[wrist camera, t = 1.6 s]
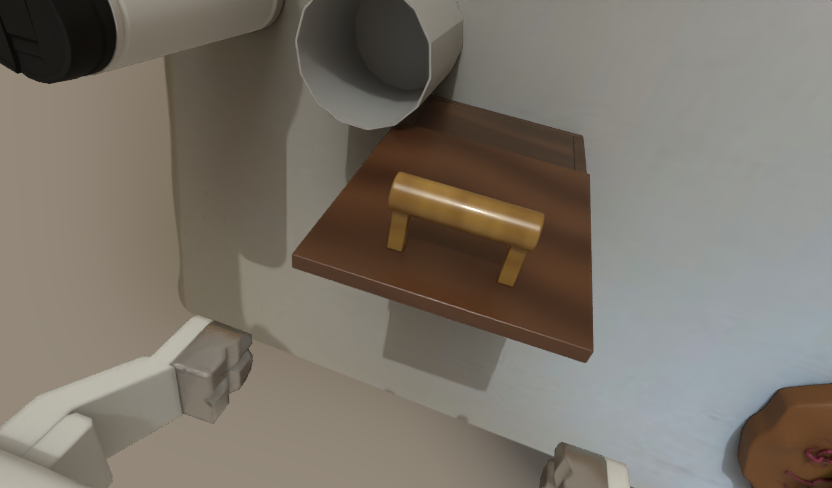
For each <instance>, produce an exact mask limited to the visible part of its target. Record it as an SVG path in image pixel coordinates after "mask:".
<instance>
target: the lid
mask: <svg viewBox="0 0 832 488" xmlns="http://www.w3.org/2000/svg"><path fill="white" fill-rule="evenodd" d="M292 267H293V268H295V269H298V270H301V271H304V272H308V273H311V274H314V275H317V276H320V277H323V278H326V279H329V280H332V281H335V282H338V283H341V284H344V285H347V286H350V287H354V288H357V289H360V290H363V291H366V292H369V293H372V294H375V295H378V296H381V297H384V298H387V299H390V300H393V301H396V302H399V303H403V304H406V305H409V306H412V307H415V308H418V309H421V310H424V311H427V312H430V313H433V314H436V315H439V316H442V317H445V318H448V319H452V320H455V321H458V322H461V323H464V324H467V325H470V326H473V327H476V328H479V329H482V330H485V331H488V332H491V333H494V334H497V335H501V336H504V337H507V338H510V339H513V340H516V341H519V342H522V343H525V344H528V345H531V346H534V347H537V348H540V349H543V350H546V351H550V352H553V353H556V354H559V355H562V356H565V357H568V358H571V359H574V360H577V361H580V362H583V363H586V362H587V361H588V359H589V358H590V356H591V355H592V353H593V304H592V257H591V209H590V175H589V174H587V173H583V172H580V171H576V170H572V169H569V168H565V167H562V166H558V165H555V164H551V163H547V162H544V161H540V160H537V159H533V158H529V157H526V156H522V155H519V154H515V153H512V152H508V151H504V150H501V149H497V148H494V147H490V146H486V145H483V144H479V143H476V142H472V141H469V140H465V139H461V138H458V137H454V136H451V135H447V134H443V133H440V132H436V131H433V130H429V129H426V128H422V127H418V126H415V125H411V124H408V123H404V122H401V121H400V122H399V123H398V124H397V125H395V126H393V127H392V128H391V130H390V131H389V132H388V133H387V135H386V136H385V137H384V139H383V140H382V141H381V142H380V144H379V145H378V146H377V147H376V149H375V150H374V151H373V152H372V154H371V155H370V156H369V157H368V159H367V160H366V161H365V163H364V164H363V165H362V166H361V168H360V169H359V170H358V171H357V173H356V174H355V175H354V176H353V178H352V179H351V180H350V182H349V183H348V184H347V185H346V187H345V188H344V189H343V190H342V192H341V193H340V194H339V195H338V197H337V198H336V199H335V201H334V202H333V203H332V204H331V206H330V207H329V208H328V209H327V211H326V212H325V213H324V214H323V216H322V217H321V218H320V219H319V221H318V222H317V223H316V225H315V226H314V227H313V228H312V230H311V231H310V232H309V233H308V235H307V236H306V237H305V238H304V240H303V241H302V242H301V244H300V245H299V246H298V247H297V249H296V250H295V251H294V252H293V254H292Z"/></svg>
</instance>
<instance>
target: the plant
mask: <svg viewBox="0 0 832 488" xmlns="http://www.w3.org/2000/svg"><path fill="white" fill-rule="evenodd" d="M738 461H739V464H740V468H741V471H742V474H743V476H744V477H745V478H746V479H747V480H748V481H749V482H750V483H751V484H752V488H832V383H830V384H818V385H806V386H796V387H787V388H783V389H780V390H778V391H777V393H776V394H775V395H774V396H773V397H772V399H771V400H770V402H769V403H768V404H767V405H766V406H765V407H764V408H763V409H762V410H761V411H760V412H758V413H757V414H755V415H753V416H752V417H751V418H750V419H749V420H748V422H747V423H746V425H745V426H744V428H743V430H742V434H741V442H740V446H739V450H738Z"/></svg>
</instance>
